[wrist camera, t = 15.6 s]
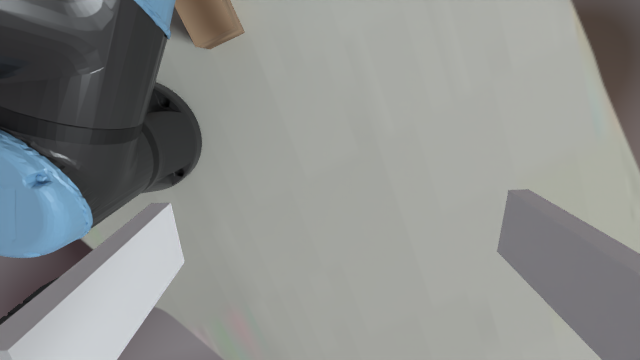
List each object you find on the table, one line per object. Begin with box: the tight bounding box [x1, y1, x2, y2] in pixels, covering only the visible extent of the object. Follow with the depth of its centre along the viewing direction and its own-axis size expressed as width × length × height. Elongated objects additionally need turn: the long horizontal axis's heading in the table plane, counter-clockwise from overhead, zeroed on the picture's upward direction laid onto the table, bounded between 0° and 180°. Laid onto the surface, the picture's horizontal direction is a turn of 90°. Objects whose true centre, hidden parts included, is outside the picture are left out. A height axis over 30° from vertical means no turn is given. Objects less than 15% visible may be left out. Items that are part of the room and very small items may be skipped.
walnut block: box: [174, 0, 245, 49], centre depth 36 cm, size 5×5×5 cm
